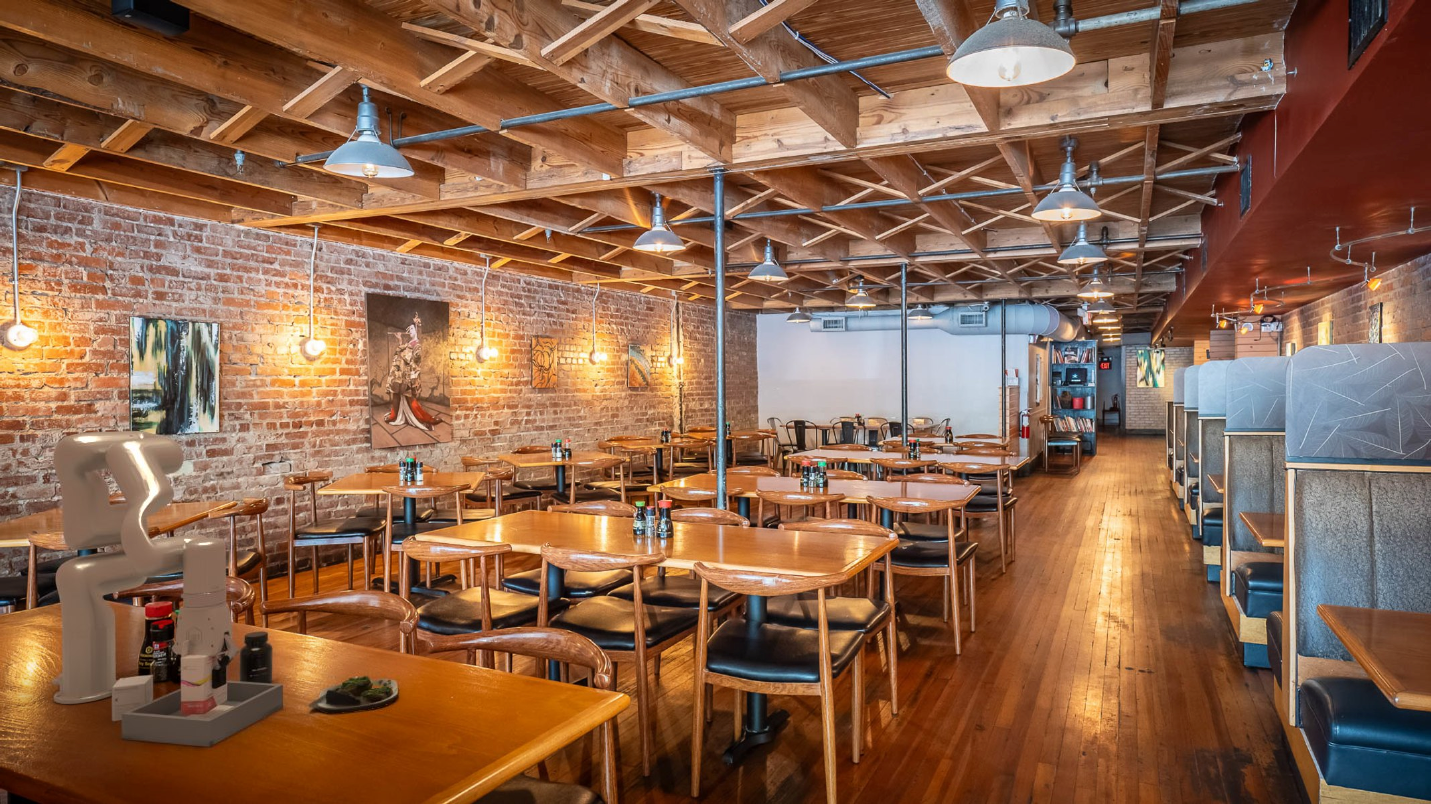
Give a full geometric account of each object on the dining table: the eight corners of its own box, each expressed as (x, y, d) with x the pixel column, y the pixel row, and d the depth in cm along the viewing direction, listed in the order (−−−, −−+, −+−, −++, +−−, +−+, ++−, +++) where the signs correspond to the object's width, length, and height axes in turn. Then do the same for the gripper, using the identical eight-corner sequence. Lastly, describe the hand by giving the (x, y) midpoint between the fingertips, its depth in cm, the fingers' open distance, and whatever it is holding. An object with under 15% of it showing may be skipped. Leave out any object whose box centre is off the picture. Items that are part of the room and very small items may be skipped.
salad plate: (317, 688, 188) (317, 669, 188) (400, 679, 194) (399, 660, 194) (306, 720, 170) (306, 698, 170) (397, 708, 176) (397, 687, 176)
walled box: (121, 739, 160) (121, 714, 160) (203, 701, 179) (203, 678, 179) (209, 747, 156) (209, 721, 156) (283, 707, 176) (282, 684, 176)
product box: (111, 722, 168) (110, 687, 168) (120, 711, 174) (119, 677, 174) (146, 717, 170) (145, 683, 170) (153, 707, 176) (153, 674, 176)
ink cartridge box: (205, 715, 163) (204, 642, 163) (180, 715, 163) (179, 643, 163) (229, 699, 172) (228, 630, 171) (204, 700, 171) (204, 630, 171)
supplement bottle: (257, 691, 185) (257, 639, 185) (232, 689, 187) (231, 637, 187) (279, 680, 192) (279, 630, 192) (254, 679, 193) (254, 629, 193)
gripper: (153, 601, 165) (154, 689, 165) (227, 605, 162) (227, 694, 162) (184, 592, 173) (185, 677, 173) (254, 596, 169) (255, 681, 170)
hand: (205, 684), depth 167 cm, fingers closed on ink cartridge box, 5 cm apart
